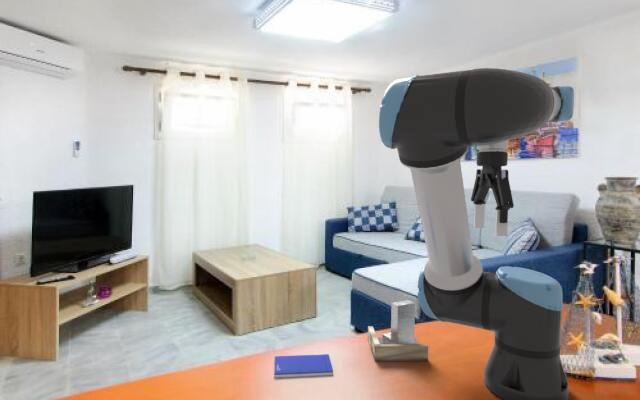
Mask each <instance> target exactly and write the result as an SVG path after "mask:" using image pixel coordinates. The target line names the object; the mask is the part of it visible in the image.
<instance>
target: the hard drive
mask: <svg viewBox="0 0 640 400" xmlns="http://www.w3.org/2000/svg"><path fill="white" fill-rule="evenodd" d="M273 367H274V369H273V370H274V371H273V372H274V373H273V378H291V377H295V378H297V377H315V376H333V375H334V370H333V365H332V362H331V358H330V355H329V354H328V353H327V354H326V353H325V354H305V355H304V354H299V355H298V354H297V355H276V356H274V366H273Z"/></svg>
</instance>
